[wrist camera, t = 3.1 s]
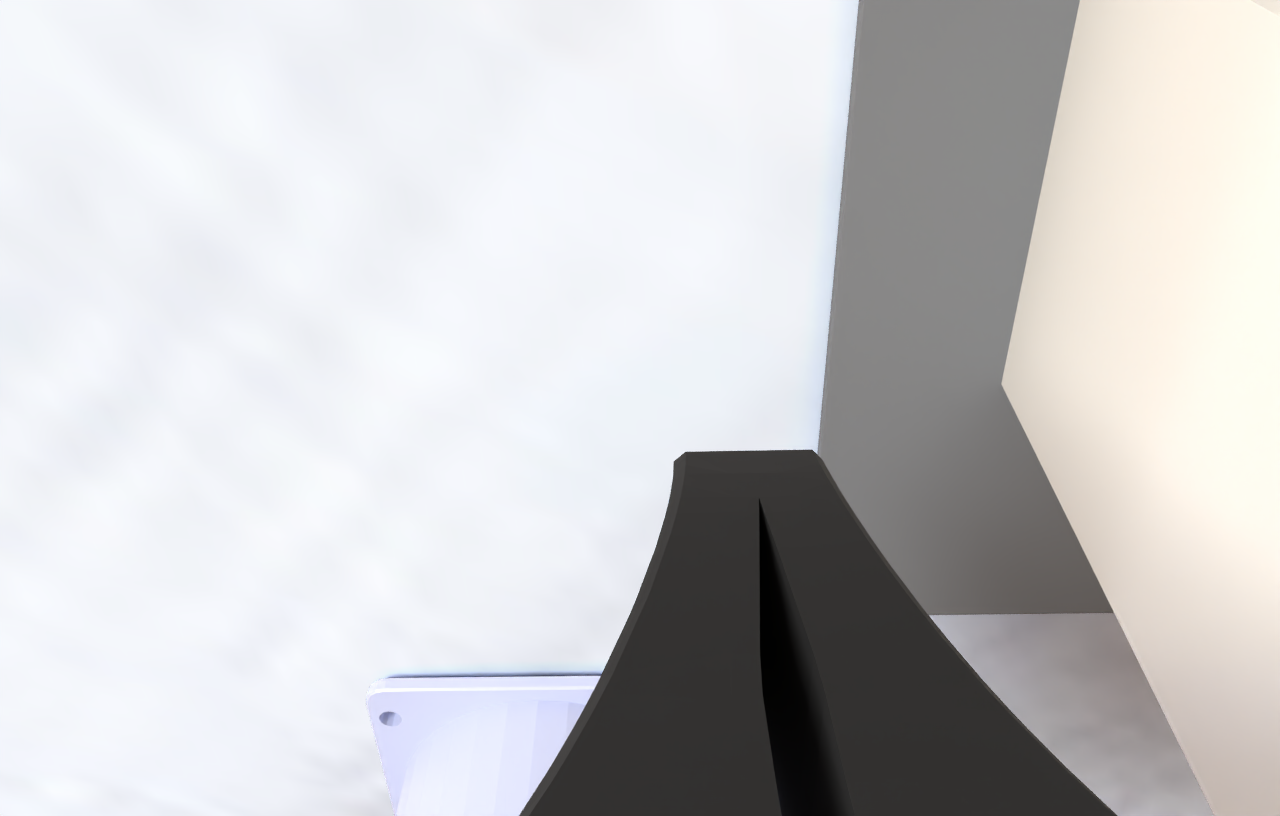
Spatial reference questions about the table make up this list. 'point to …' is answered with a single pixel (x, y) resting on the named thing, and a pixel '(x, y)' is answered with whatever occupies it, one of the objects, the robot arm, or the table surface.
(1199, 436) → the tile
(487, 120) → the table surface
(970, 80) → the mat
